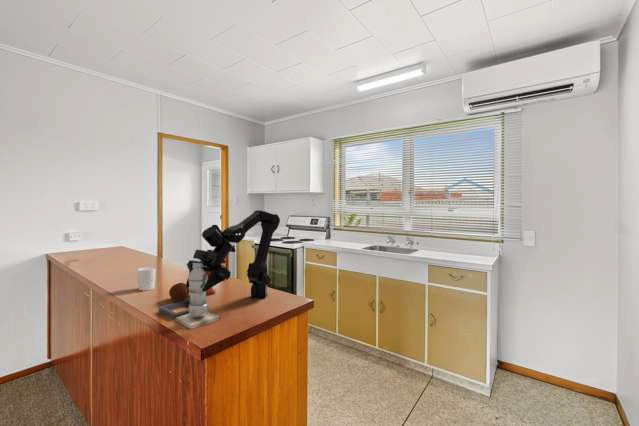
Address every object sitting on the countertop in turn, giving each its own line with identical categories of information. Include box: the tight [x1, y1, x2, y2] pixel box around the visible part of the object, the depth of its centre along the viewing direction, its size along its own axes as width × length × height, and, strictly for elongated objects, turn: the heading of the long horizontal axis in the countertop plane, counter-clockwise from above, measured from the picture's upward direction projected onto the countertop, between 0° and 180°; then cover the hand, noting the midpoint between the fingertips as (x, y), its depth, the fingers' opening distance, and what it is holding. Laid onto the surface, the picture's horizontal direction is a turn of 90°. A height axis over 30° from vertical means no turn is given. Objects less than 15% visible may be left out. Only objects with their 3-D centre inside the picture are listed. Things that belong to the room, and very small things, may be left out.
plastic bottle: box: [187, 260, 209, 318], centre depth 108 cm, size 6×7×20 cm
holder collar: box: [158, 298, 190, 321], centre depth 117 cm, size 12×12×2 cm
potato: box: [168, 282, 190, 303], centre depth 130 cm, size 8×12×8 cm, turn 53°
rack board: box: [174, 311, 221, 330], centre depth 108 cm, size 11×11×1 cm
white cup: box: [136, 266, 157, 292], centre depth 147 cm, size 8×8×10 cm
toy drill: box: [205, 271, 216, 296], centre depth 138 cm, size 5×19×15 cm, turn 47°
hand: (194, 289), depth 107 cm, fingers open, 9 cm apart
